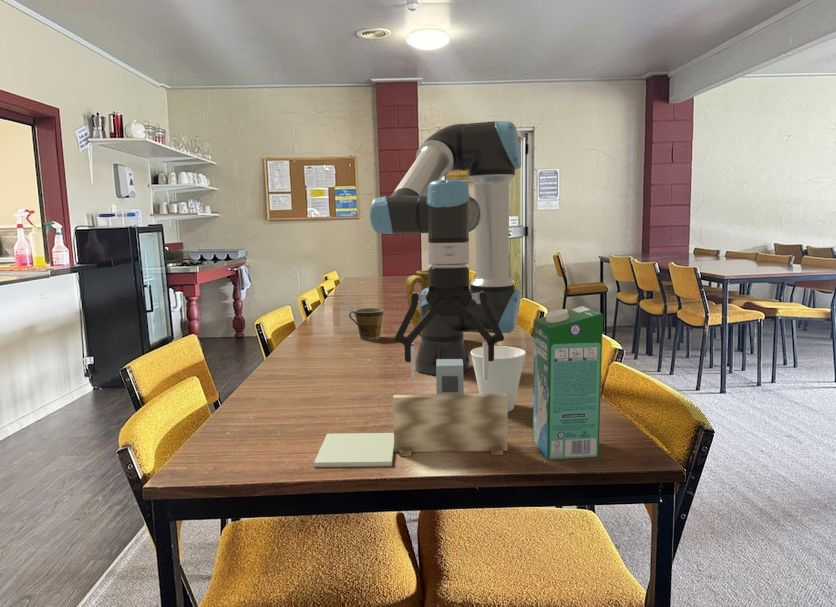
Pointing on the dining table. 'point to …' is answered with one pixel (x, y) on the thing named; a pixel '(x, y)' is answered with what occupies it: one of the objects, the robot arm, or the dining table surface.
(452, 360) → the block
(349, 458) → the mat
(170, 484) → the dining table surface
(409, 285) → the pitcher
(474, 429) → the birch screen
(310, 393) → the dining table surface
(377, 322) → the ceramic cup
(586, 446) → the milk carton
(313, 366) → the dining table surface
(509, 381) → the cup
